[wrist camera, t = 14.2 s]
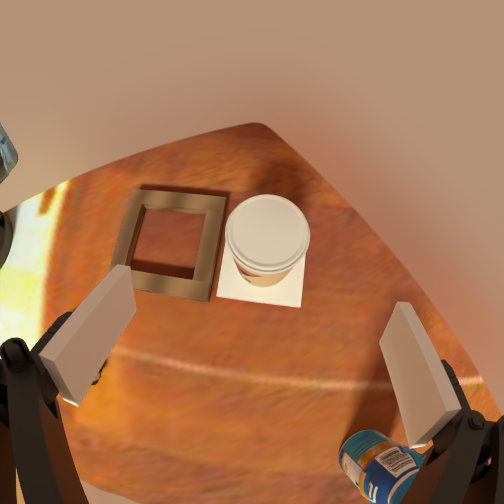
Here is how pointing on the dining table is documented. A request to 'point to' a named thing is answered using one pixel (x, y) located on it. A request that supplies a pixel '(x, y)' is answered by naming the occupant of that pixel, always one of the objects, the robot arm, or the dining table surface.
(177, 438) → the dining table surface
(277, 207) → the coffee cup
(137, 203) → the square frame
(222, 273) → the white tile
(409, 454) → the beverage bottle
